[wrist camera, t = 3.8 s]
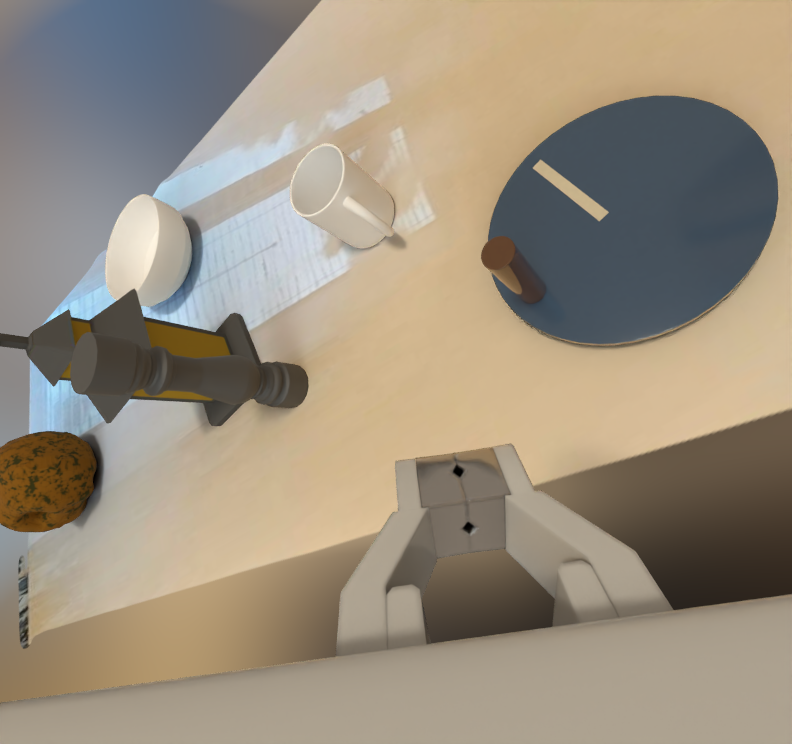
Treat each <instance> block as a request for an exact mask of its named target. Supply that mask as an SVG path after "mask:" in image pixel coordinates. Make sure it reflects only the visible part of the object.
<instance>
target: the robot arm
mask: <svg viewBox="0 0 792 744" xmlns="http://www.w3.org/2000/svg"><path fill="white" fill-rule="evenodd" d="M415 459H416V462H415ZM415 459H408V460H400V461H396V462H395V472H396V486H397V500H398V512H392V514H391V515H390V517H389V519H388V520H387V522H386V523H385V525H384V526H383V528H382V529H381V531H380V532H379V534H378V536H377V537H376V539H375V540H374V542H373V543H372V545H371V546H370V548H369V549H368V551H367V553H366V554H365V556H364V557H363V559H362V560H361V562H360V563H359V565H358V566H357V568H356V570H355V571H354V573H353V574H352V576H351V577H350V579H349V580H348V582H347V583H346V585H345V586H344V588H343V590H342V591H341V596H340V609H339V622H338V635H337V650H336V657H332V658H325V659H317V660H310V661H302V662H295V663H288V664H280V665H273V666H266V667H258V668H251V669H244V670H236V671H229V672H222V673H215V674H208V675H200V676H193V677H186V678H178V679H171V680H163V681H156V682H149V683H141V684H134V685H127V686H119V687H112V688H105V689H98V690H91V691H84V692H76V693H68V694H61V695H53V696H46V697H39V698H31V699H24V700H17V701H10V702H2V703H0V744H792V594H789V595H782V596H775V597H767V598H761V599H753V600H745V601H739V602H731V603H724V604H717V605H710V606H702V607H695V608H687V609H680V610H673V609H672V607H671V606H670V604H669V602H668V601H667V599H666V598H665V596H664V595H663V593H662V592H661V590H660V588H659V587H658V585H657V584H656V582H655V581H654V579H653V578H652V576H651V575H650V573H649V572H648V570H647V568H646V567H645V565H644V564H643V562H642V561H641V559H640V557H639V556H638V554H637V553H636V551H634V550H633V549H631V548H630V547H628V546H626V545H625V544H623V543H622V542H620V541H619V540H617V539H616V538H614V537H613V536H611V535H610V534H608V533H606V532H605V531H603V530H602V529H600V528H598V527H597V526H596V525H594V524H593V523H591V522H589V521H588V520H586V519H585V518H583V517H582V516H580V515H578V514H577V513H575V512H574V511H572V510H571V509H569V508H568V507H566V506H565V505H563V504H562V503H560V502H558V501H557V500H555V499H554V498H552V497H551V496H549V495H548V494H546V493H545V492H543V491H535V490H534V488H533V485H532V483H531V481H530V479H529V477H528V475H527V473H526V471H525V469H524V467H523V464H522V462H521V460H520V458H519V456H518V454H517V452H516V450H515V448H514V446H513V445H512V444H505V445H499V446H493V447H489V448H482V449H476V450H470V451H464V452H457V453H452V454H444V455H436V456H428V457H420V458H415ZM498 549H506V551H507V552H508V553H509V554H510V555H511V556H512V557H513V558H514V559H515V560H516V561H517V562H518V563H519V564H520V565H521V566H522V567H523V568H524V569H525V570H526V571H527V572H528V573H529V574H530V575H531V576H533V578H535V580H536V581H538V582H539V583H540V585H541V586H543V587H544V588H545V590H547V591H548V592H549V593H550V594H551V595H552V596H553V597H554V598H555V605H554V615H553V625H552V627H549V628H542V629H535V630H528V631H520V632H513V633H506V634H499V635H491V636H484V637H477V638H470V639H462V640H455V641H448V642H441V643H433V644H431V642H430V637H429V632H428V627H427V622H426V617H425V612H424V607H423V603H422V596H423V594H424V591H425V589H426V587H427V584H428V582H429V579H430V577H431V574H432V572H433V569H434V567H435V564H436V562H437V558H442V557H448V556H454V555H460V554H466V553H472V552H481V551H489V550H498Z"/></svg>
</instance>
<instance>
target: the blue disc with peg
mask: <svg viewBox="0 0 792 744" xmlns="http://www.w3.org/2000/svg"><path fill="white" fill-rule="evenodd" d="M777 204H778V180H777V175H776V171H775V167H774V163H773V160H772V158H771V156H770V154H769V151H768V149H767V147H766V145H765V144H764V143H763V141H762V140H761V139H760V137H759V136H758V134H757V133H756V132H755V131H754V130H753V129H752V128H751V127H750V126H749V125H748V124H747V123H746V122H745V121H744V120H742V119H741V118H739V117H738V116H736V115H735V114H733V113H731V112H730V111H728V110H726V109H724V108H722V107H719V106H717V105H715V104H712V103H710V102H706V101H702V100H698V99H695V98H688V97H680V96H649V97H640V98H634V99H629V100H625V101H620V102H616V103H613V104H610V105H607V106H604V107H601V108H598V109H596V110H594V111H592V112H589V113H587V114H585V115H583V116H581V117H579V118H577V119H575V120H573V121H572V122H570V123H568V124H566V125H565V126H563V127H562V128H560V129H559V130H557V131H556V132H555V133H553V134H552V135H551V136H549V137H548V138H547V139H546V140H544V141H543V142H542V143H541V144H539V145H538V146H537V147H536V148H535V149H534V150H533V151H532V152H531V153H530V154H529V155H528V156H527V157H526V158H525V160H524V161H523V162H522V163H521V164H520V166H519V167H518V168H517V169H516V171H515V172H514V173H513V175H512V176H511V178H510V179H509V181H508V182H507V184H506V186H505V188H504V189H503V191H502V193H501V195H500V197H499V200H498V202H497V204H496V207H495V209H494V213H493V216H492V220H491V223H490V229H489V235H488V242H487V243H486V245H485V246H484V248H483V250H482V254H481V259H482V262H483V264H484V266H485V267H486V268H487V269H488V270H490V271H491V273H492V277H493V279H494V282H495V284H496V287H497V289H498V290H499V292H500V294H501V295H502V297H503V299H504V300H505V301H506V303H507V304H508V305H509V306H510V308H511V309H512V310H513V311H514V312H515V313H516V314H517V315H518V316H520V317H521V318H522V319H523V320H524V321H525V322H527V323H528V324H530V325H531V326H533V327H534V328H536V329H537V330H539V331H541V332H543V333H545V334H547V335H549V336H552V337H555V338H558V339H561V340H564V341H568V342H573V343H577V344H583V345H596V346H607V345H622V344H629V343H636V342H640V341H644V340H648V339H651V338H655V337H658V336H661V335H663V334H666V333H669V332H671V331H674V330H676V329H678V328H680V327H682V326H684V325H686V324H688V323H690V322H692V321H694V320H696V319H697V318H699V317H700V316H702V315H703V314H705V313H706V312H708V311H709V310H711V309H712V308H714V307H715V306H716V305H717V304H718V303H720V302H721V301H722V300H723V299H724V298H725V297H727V296H728V295H729V294H730V293H731V292H732V291H733V290H734V289H735V288H736V287H737V285H738V284H739V283H740V282H741V281H742V280H743V279H744V278H745V277H746V275H747V274H748V272H749V271H750V269H751V268H752V267H753V265H754V264H755V262H756V261H757V259H758V258H759V256H760V254H761V252H762V250H763V248H764V246H765V244H766V242H767V240H768V238H769V236H770V233H771V230H772V227H773V224H774V221H775V217H776V210H777Z"/></svg>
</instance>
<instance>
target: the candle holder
mask: <svg viewBox="0 0 792 744" xmlns="http://www.w3.org/2000/svg"><path fill="white" fill-rule="evenodd" d="M70 377H71V385H72V387H73V389H74V391H75V392H76V393H78V394H85V395H102V396H121V395H124V394H129V393H132V392H135V391H138V390H141V389H143V390H144V392H145V393H146V394H148V395H150V396H157V395H160V394H162V393H163V392H164V391H181V392H192V393H195V394H199V395H202V396H205V397H208V398H211V399H215V400H218V401H221V402H224V403H227V404H230V405H236V404H240V403H244V402H246V401H248V400H250V399H253V398H254V399H255V400H256V401H257V402H258V403H260V404H263V405H268V406H271V407H281V408H293V407H297V406H298V405H300V404H301V403H302V402H303V400H304V398H305V397H306V394H307V390H308V377H307V375H306V373H305V371H304V370H303V369H302V368H301V367H300V366H297V365H293V364H287V363H281V362H274V363H270V362H265V363H262V364H260V365H259V366H258V365H255V364H254V363H253V362H252V361H251V360H249V359H248V358H246V357H243V356H239V355H227V356H216V357H203V358H191V357H184V356H178V355H172V354H171V353H170V352H169V351H168V350H167V349H166V348H164V347H160V346H155V347H153V348H151V349H150V350H149V351H148V350H147V349H144V348H142V347H141V346H140V345H139V344H137V343H134V342H132V341H131V340H129V339H126V338H121V337H115V336H109V335H103V334H97V333H91V332H87V333H85V334H83V335H82V336H81V338H80V339H79V340H78V342H77V344H76V347H75V349H74V352H73V356H72V361H71V370H70Z"/></svg>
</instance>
